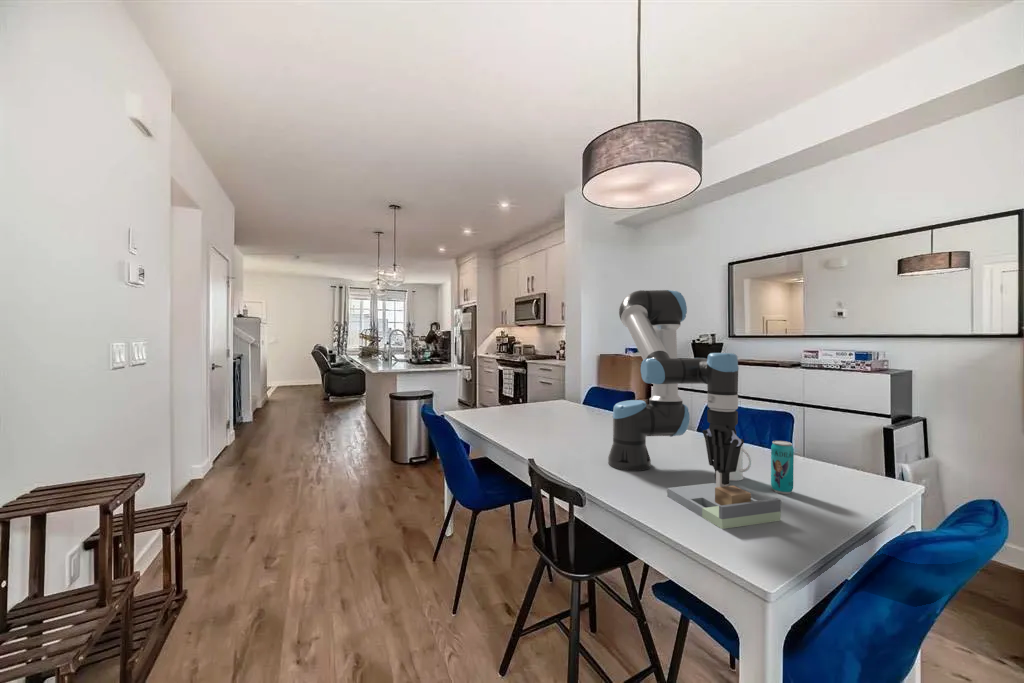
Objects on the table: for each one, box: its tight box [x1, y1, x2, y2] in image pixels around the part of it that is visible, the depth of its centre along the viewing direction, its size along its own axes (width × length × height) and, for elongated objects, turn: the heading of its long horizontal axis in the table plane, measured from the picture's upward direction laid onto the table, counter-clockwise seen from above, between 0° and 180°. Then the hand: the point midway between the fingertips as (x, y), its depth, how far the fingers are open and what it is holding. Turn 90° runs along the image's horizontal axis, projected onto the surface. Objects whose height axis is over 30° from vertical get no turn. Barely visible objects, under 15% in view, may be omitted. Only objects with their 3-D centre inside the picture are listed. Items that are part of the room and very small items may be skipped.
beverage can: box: [770, 440, 795, 495], centre depth 128 cm, size 6×6×15 cm
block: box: [715, 485, 752, 505], centre depth 112 cm, size 6×6×4 cm
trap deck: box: [666, 482, 782, 530], centre depth 116 cm, size 22×18×5 cm
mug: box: [729, 444, 752, 482], centre depth 140 cm, size 12×8×12 cm
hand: (722, 494), depth 115 cm, fingers closed
